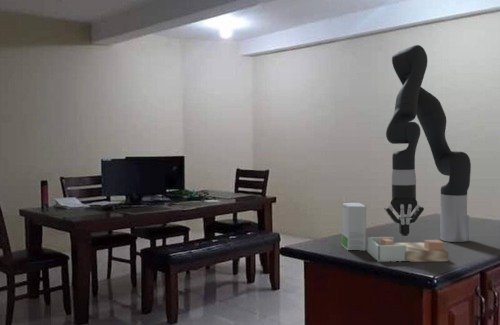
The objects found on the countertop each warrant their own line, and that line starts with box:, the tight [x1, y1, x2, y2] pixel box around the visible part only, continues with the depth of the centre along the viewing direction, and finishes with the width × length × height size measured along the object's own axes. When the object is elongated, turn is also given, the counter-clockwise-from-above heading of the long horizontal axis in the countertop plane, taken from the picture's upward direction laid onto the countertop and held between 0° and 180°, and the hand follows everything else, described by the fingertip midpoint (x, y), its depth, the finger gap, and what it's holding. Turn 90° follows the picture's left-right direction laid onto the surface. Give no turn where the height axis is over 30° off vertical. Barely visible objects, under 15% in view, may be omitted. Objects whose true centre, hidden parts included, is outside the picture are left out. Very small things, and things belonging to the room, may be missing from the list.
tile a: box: [381, 238, 393, 246], centre depth 161 cm, size 4×4×2 cm
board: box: [394, 242, 449, 263], centre depth 159 cm, size 13×14×3 cm
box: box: [366, 236, 407, 263], centre depth 159 cm, size 9×14×5 cm, turn 0°
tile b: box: [423, 239, 445, 251], centre depth 155 cm, size 4×4×2 cm
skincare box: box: [341, 202, 367, 251], centre depth 171 cm, size 8×7×16 cm
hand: (404, 235), depth 161 cm, fingers closed
